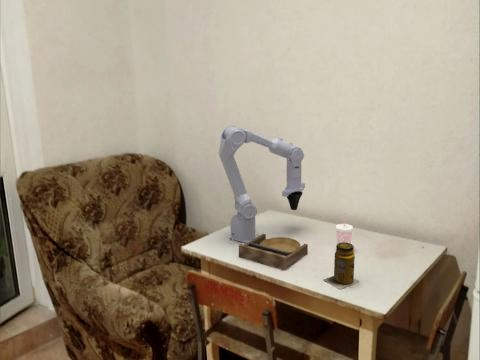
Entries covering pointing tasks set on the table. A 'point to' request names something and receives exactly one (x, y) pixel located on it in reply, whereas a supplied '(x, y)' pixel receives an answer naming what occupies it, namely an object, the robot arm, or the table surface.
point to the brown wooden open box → (271, 254)
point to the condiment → (343, 266)
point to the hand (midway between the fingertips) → (293, 209)
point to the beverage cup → (344, 232)
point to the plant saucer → (282, 244)
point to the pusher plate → (268, 249)
